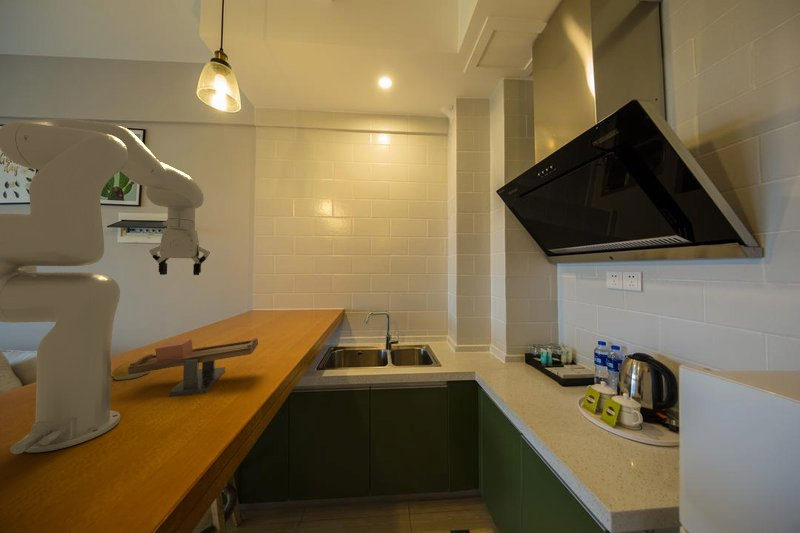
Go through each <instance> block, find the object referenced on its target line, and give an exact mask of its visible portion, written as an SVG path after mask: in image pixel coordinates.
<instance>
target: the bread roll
mask: <svg viewBox="0 0 800 533" xmlns="http://www.w3.org/2000/svg"><path fill="white" fill-rule="evenodd" d="M137 360H138V359H137ZM137 360H128V361H126V362H122V363H121V364H119V365H118V366H116V367H115V368H114V369H113V371H112V372H111V376H113V379H114V380H117V381H122V380H131V379H137V378H140V377H143V376H144V375H145V376H146V375H147V374H149V373H150V372H151V371H147V372H141V373H135V374H129V373H128V367H130V364H131V363H133V362H135V361H137Z"/></svg>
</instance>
